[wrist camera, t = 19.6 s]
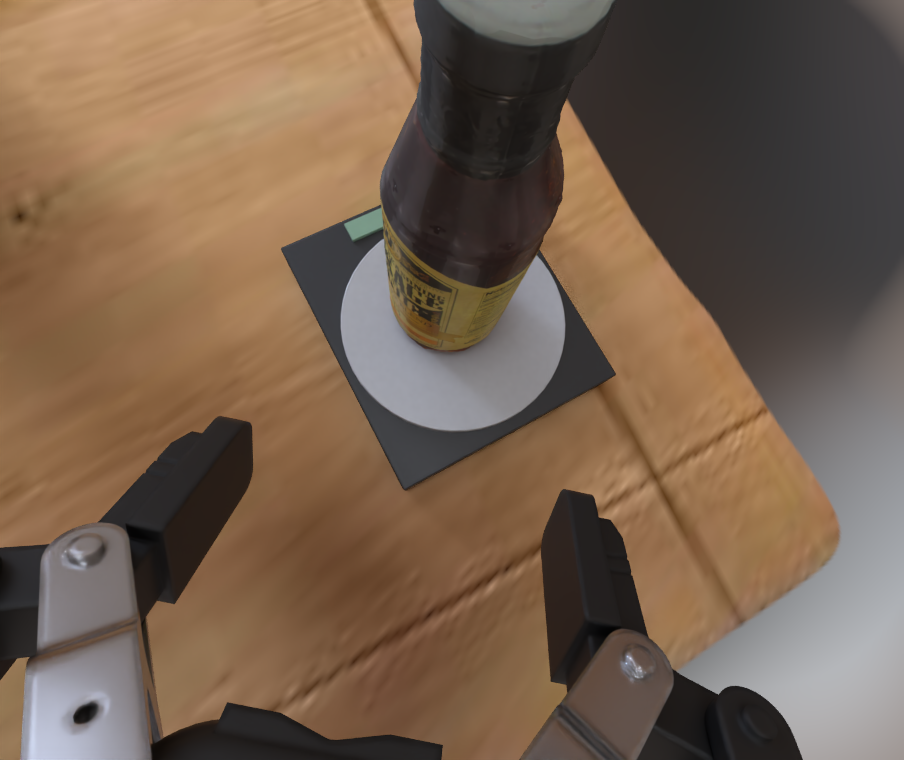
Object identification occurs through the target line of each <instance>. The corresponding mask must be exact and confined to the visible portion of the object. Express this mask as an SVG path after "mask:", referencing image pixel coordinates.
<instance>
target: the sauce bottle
mask: <svg viewBox="0 0 904 760" xmlns="http://www.w3.org/2000/svg"><path fill="white" fill-rule="evenodd" d="M616 3H617V0H414V9H415V17H416V22H417V25H418V28H419V30H420V33H421V36H422V48H421V82H420V83H419V88H418V93H417V98H416V100H415V102H414V104H413V107H412V109H411V111H410V113H409V115H408V117H407V119H406V121H405V123H404V126H403V128H402V130H401V132H400V134H399V136H398V138H397V141H396V143H395V145H394V147H393V149H392V151H391V153H390V155H389V158H388V160H387V162H386V164H385V166H384V169H383V171H382V175H381V180H380V199H381V207H382V219H383V229H384V232H383V233H384V234H383V236H384V248H385V255H386V265H387V272H388V282H389V291H390V301H391V306H392V310H393V312H394V315H395V317H396V319H397V321H398V323H399V325H400V326H401V327H402V329H403V330H404V331H405V332H406V333H407V335H408V336H409V337H410V338H411V339H412V340H414V341H415V342H416V343H417V344H418V345H420V346H421V347H423V348H424V349H431V350H434V351H440V352H459V351H464V350H466V349H468V348H470V347H471V346H473V345H475V344H476V343H478V342H480V341H481V340H483V339H484V338H486V337H487V336H488V335H489V333H490V332H491V331H492V330H493V328H494V327H495V325H496V324H497V322H498V321H499V319H500V317H501V316H502V314H503V312H504V310H505V309H506V307H507V305H508V303H509V302H510V300H511V298H512V296H513V295H514V293H515V291H516V290H517V288H518V286H519V284H520V283H521V281H522V279H523V278H524V276H525V274H526V272H527V270H528V269H529V267H530V265H531V263H532V262H533V260H534V258H535V256H536V255H537V253H538V251H539V249H540V246H541V244H542V241H543V238H544V235H545V233H546V232H547V230H548V228H549V227H550V226H551V224H552V222H553V219H554V217H555V215H556V212H557V210H558V206H559V205H560V203H561V201H562V192H563V181H564V169H563V168H564V165H563V157H562V150H561V147H560V144H559V140H558V137H557V134H556V131H557V126H558V124H559V121H560V113H561V111H562V108H563V105H564V103H565V101H566V98H567V96H568V93H569V91H570V88H571V85H572V83H573V81H574V78H575V77H576V76H577V75H578V74H579V73H580V72H581V71H582V70H583V69H584V68H585V67H586V66H587V64H588V63H589V61H590V60H591V59H592V58H593V56H594V55H595V53H596V51H597V48H598V46H599V44H600V42H601V39H602V37H603V35H604V32H605V30H606V28H607V25H608V23H609V20H610V17H611V14H612V12H613V9H614V7H615V5H616Z"/></svg>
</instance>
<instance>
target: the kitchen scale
mask: <svg viewBox="0 0 904 760" xmlns="http://www.w3.org/2000/svg"><path fill="white" fill-rule="evenodd" d="M383 232H384V229H383V219H382V207H381V205H379V206H377V207H375V208H372V209H370V210H368V211H365V212H363V213H361V214H358V215H356V216H354V217H352V218H349V219H347V220H345V221H342V222H340V223H338V224H335V225H333V226H331V227H329V228H326V229H324V230H322V231H319V232H317V233H315V234H312V235H310V236H308V237H305V238H303V239H301V240H299V241H296V242H294V243H292V244H289V245H287V246H285V247H282V248H281V250H282V252H283V254H284V256H285V258H286V260H287V262H288V264H289V266H290V268H291V270H292V272H293V274H294V276H295V278H296V280H297V282H298V284H299V286H300V288H301V290H302V292H303V294H304V296H305V298H306V300H307V301H308V303H309V305H310V307H311V309H312V311H313V313H314V315H315V317H316V319H317V321H318V323H319V325H320V327H321V329H322V331H323V333H324V335H325V337H326V339H327V341H328V343H329V345H330V347H331V349H332V351H333V353H334V354H335V356H336V358H337V360H338V362H339V364H340V366H341V368H342V370H343V372H344V374H345V376H346V378H347V380H348V382H349V384H350V386H351V388H352V390H353V392H354V394H355V396H356V398H357V400H358V402H359V404H360V405H361V407H362V409H363V411H364V413H365V415H366V417H367V419H368V421H369V423H370V425H371V427H372V429H373V431H374V433H375V435H376V437H377V439H378V441H379V443H380V445H381V447H382V449H383V451H384V453H385V455H386V457H387V458H388V460H389V462H390V464H391V466H392V468H393V470H394V472H395V474H396V476H397V478H398V480H399V482H400V484H401V486H402V488H403V489H404V490H408V489H409V488H411V487H413V486H415V485H417V484H419V483H420V482H422V481H424V480H426V479H428V478H430V477H431V476H433V475H435V474H437V473H439V472H441V471H442V470H444V469H446V468H448V467H450V466H451V465H453V464H455V463H457V462H459V461H461V460H462V459H464V458H466V457H468V456H470V455H472V454H473V453H475V452H477V451H479V450H481V449H483V448H484V447H486V446H488V445H490V444H492V443H494V442H495V441H497V440H499V439H501V438H503V437H505V436H506V435H508V434H510V433H512V432H514V431H516V430H517V429H519V428H521V427H523V426H525V425H527V424H528V423H530V422H532V421H534V420H536V419H538V418H539V417H541V416H543V415H545V414H547V413H549V412H550V411H552V410H554V409H556V408H558V407H560V406H561V405H563V404H565V403H567V402H569V401H571V400H572V399H574V398H576V397H578V396H580V395H582V394H583V393H585V392H587V391H589V390H591V389H593V388H594V387H596V386H598V385H600V384H602V383H603V382H605V381H607V380H608V379H610V378H612V377H613V376H615V375H616V373H615V372H614V370H613V368H612V367H611V365H610V364H609V362H608V360H607V359H606V357H605V355H604V354H603V352H602V351H601V349H600V347H599V346H598V344H597V342H596V341H595V339H594V338H593V336H592V334H591V333H590V331H589V329H588V328H587V326H586V325H585V323H584V321H583V320H582V318H581V316H580V315H579V313H578V312H577V310H576V308H575V307H574V305H573V303H572V302H571V300H570V299H569V297H568V295H567V294H566V292H565V290H564V289H563V287H562V286H561V284H560V282H559V281H558V279H557V277H556V276H555V274H554V273H553V271H552V269H551V268H550V266H549V264H548V263H547V261H546V260H545V258H544V256H543V255H542V253H541V251H540V250H539V251H538V253H537V255H536V256H535V258H534V260H533V262H532V263H531V265H530V267H529V269H528V270H527V272H526V274H525V276H524V278H523V279H522V281H521V283H520V284H519V286H518V288H517V290H516V291H515V293H514V295H513V296H512V298H511V300H510V302H509V303H508V305H507V307H506V309H505V310H504V312H503V314H502V316H501V317H500V319H499V321H498V322H497V324H496V325H495V327H494V328H493V330H492V331H491V332H490V333H489V335H488V336H487V337H486V338H484V339H483V340H481V341H480V342H478V343H476V344H475V345H473V346H471V347H470V348H468V349H466V350H464V351H459V352H440V351H434V350H431V349H424V348H423V347H421V346H420V345H418V344H417V343H416V342H415V341H414V340H412V339H411V338H410V337H409V336H408V335H407V333H406V332H405V331H404V330H403V329H402V327H401V326H400V325H399V323H398V321H397V319H396V317H395V315H394V312H393V310H392V306H391V301H390V291H389V282H388V272H387V265H386V255H385V248H384V236H383V234H384V233H383Z"/></svg>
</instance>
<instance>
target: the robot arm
mask: <svg viewBox="0 0 904 760" xmlns="http://www.w3.org/2000/svg"><path fill="white" fill-rule="evenodd" d="M252 472H253V448H252V426H251V423H250V422H246V421H242V420H237V419H232V418H227V417H223V416H218V417H217V418H215V419H214V420H213V422H212V423H211V424H210V425H209V426H208V427H207V429H206V430H205V431H204V432H203V433H197V432H190V433H188V434H186V435H185V436H183V437H181V438H179V439H177V440H176V441H174V442H172V443H171V444H170V445H169V446H168V447H167V448H166V449H165V450H164V451H163V453H162V454H161V455H160V456H159V457H158V459H157V461H154V462H153V463H152V464H151V466H150V467H149V468H148V469H147V470H146V473H145V474H144V473H143V474H142V475H141V476H140V477H139V479H138V480H137V481H136V482H135V483H134V484H133V485H132V486H131V487H130V488H129V489H128V490H127V492H126V493H125V494H124V495H123V496H122V497H121V498H120V499H119V500H118V501H117V502H116V503H115V505H114V506H113V507H112V508H111V509H110V510H109V511H108V512H107V513H106V514H105V515H104V516H103V518H102V519H101V520H100V521H98V522H97V523H91V524H86V525H82V526H79V527H76V528H74V529H71V530H69V531H67V532H65V533H64V534H62V535H61V536H59V537H58V538H56V539H55V540H54V541H53V542H52V543H51V544H46V545H34V546H19V547H4V548H0V680H1V679H2V677H3V676H4V675H5V673H6V672H7V671H8V670H9V668H10V667H11V666H12V664H13V663H14V662H15V661H16V659H17V658H23V657H30V658H29V659H28V662H27V666H26V673H25V689H24V706H23V724H22V742H21V759H20V760H441V758H442V748H443V745H440V744H435V743H430V742H425V741H420V740H415V739H410V738H405V737H400V736H395V735H382V736H372V737H362V738H352V739H343V740H330V739H327V738H325V737H323V736H322V735H320V734H318V733H316V732H314V731H312V730H311V729H309V728H307V727H305V726H303V725H302V724H300V723H298V722H296V721H294V720H292V719H291V718H289V717H287V716H285V715H283V714H282V713H278V712H273V711H268V710H263V709H258V708H253V707H248V706H243V705H238V704H233V703H228V702H227V704H226V706H225V709H224V711H223V713H222V715H221V717H220V719H219V720H211V721H206V722H202V723H198V724H194V725H192V726H189V727H186V728H183V729H181V730H179V731H176V732H174V733H172V734H170V735H168V736H166V737H163V730H162V724H161V718H160V713H159V707H158V701H157V694H156V686H155V679H154V671H153V663H152V655H151V648H150V640H149V632H148V624H147V618H146V616H147V614H148V613H149V611H150V610H151V608H152V607H153V605H154V604H155V602H156V601H162V602H167V603H172V604H175V603H176V601H177V600H178V598H179V596H180V595H181V593H182V592H183V590H184V589H185V587H186V585H187V584H188V582H189V581H190V579H191V577H192V576H193V574H194V573H195V571H196V570H197V568H198V566H199V565H200V563H201V562H202V560H203V558H204V557H205V555H206V554H207V552H208V551H209V549H210V547H211V546H212V544H213V543H214V541H215V539H216V538H217V536H218V535H219V533H220V532H221V530H222V528H223V527H224V525H225V524H226V522H227V521H228V519H229V517H230V516H231V514H232V513H233V511H234V509H235V508H236V506H237V505H238V503H239V502H240V500H241V498H242V497H243V495H244V494H245V492H246V490H247V488H248V486H249V483H250V480H251V477H252ZM541 559H542V572H543V585H544V598H545V611H546V624H547V638H548V651H549V664H550V677H551V682H555V683H560V684H565V685H567V695H566V696H565V698H564V699H563V700H562V702H561V703H560V704H559V705H558V706H557V707H556V708H555V710H554V711H553V712H552V714H551V715H550V717H549V718H548V719H547V721H546V722H545V724H544V725H543V726H542V728H541V729H540V731H539V732H538V734H537V735H536V736H535V738H534V739H533V741H532V742H531V743H530V745H529V746H528V748H527V749H526V751H525V752H524V753H523V755H522V756H521V758H520V759H519V760H803V759H802V756H801V754H800V751H799V749H798V746H797V743H796V741H795V738H794V736H793V734H792V732H791V729H790V727H789V726H788V724H787V723H786V721H785V719H784V718H783V716H782V715H781V714H780V713H779V711H778V710H777V709H776V708H775V707H774V706H773V705H772V704H771V703H770V702H769V701H767V700H766V699H765V698H763V697H762V696H761V695H759V694H758V693H756V692H754V691H752V690H750V689H747V688H744V687H740V686H730V687H727V688H725V689H724V690H722V691H721V693H720V694H719V695H718V694H716V693H714V692H712V691H710V690H708V689H706V688H704V687H703V686H701V685H699V684H697V683H695V682H693V681H691V680H689V679H687V678H686V677H684V676H682V675H680V674H679V673H677V672H676V671H675V670H673V669H672V667H671V665H670V662H669V660H668V659H667V657H666V655H665V654H664V652H663V651H662V650H661V649H660V648H659V646H658V645H657V644H656V643H654V642H653V641H652V640H651V639H649V637H648V634H647V631H646V627H645V623H644V619H643V615H642V611H641V608H640V604H639V600H638V596H637V592H636V588H635V584H634V580H633V576H631V569H630V565H629V561H628V560H627V553H626V549H625V545H624V542H623V538H622V536H621V535H620V533H619V532H618V530H617V529H616V528H615V526H614V525H613V523H612V522H611V520H608V519H604V518H599V517H598V512H597V507H596V503H595V499H594V497H593V495H590V494H585V493H580V492H575V491H571V490H566V489H563V490H562V491H561V492H560V494H559V497H558V499H557V501H556V504H555V506H554V508H553V511H552V513H551V516H550V518H549V520H548V523H547V525H546V527H545V530H544V533H543V538H542V545H541Z"/></svg>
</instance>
